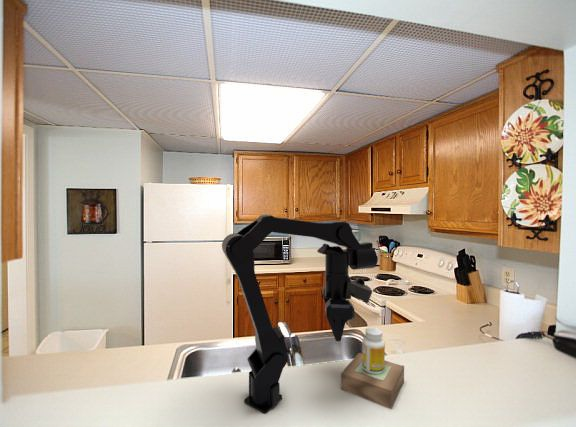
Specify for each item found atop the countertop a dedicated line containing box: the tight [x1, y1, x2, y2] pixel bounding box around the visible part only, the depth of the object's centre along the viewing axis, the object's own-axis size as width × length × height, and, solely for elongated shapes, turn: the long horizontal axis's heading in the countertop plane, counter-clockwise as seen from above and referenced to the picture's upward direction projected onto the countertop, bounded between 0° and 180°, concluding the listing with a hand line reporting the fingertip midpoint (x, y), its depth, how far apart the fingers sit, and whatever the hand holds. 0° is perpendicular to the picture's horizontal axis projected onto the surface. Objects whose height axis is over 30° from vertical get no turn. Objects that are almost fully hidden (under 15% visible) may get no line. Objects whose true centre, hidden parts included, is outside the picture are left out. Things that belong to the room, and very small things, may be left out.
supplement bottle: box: [361, 327, 386, 374], centre depth 71 cm, size 5×5×10 cm
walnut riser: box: [340, 352, 405, 409], centre depth 72 cm, size 12×12×4 cm
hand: (336, 332), depth 72 cm, fingers open, 9 cm apart
